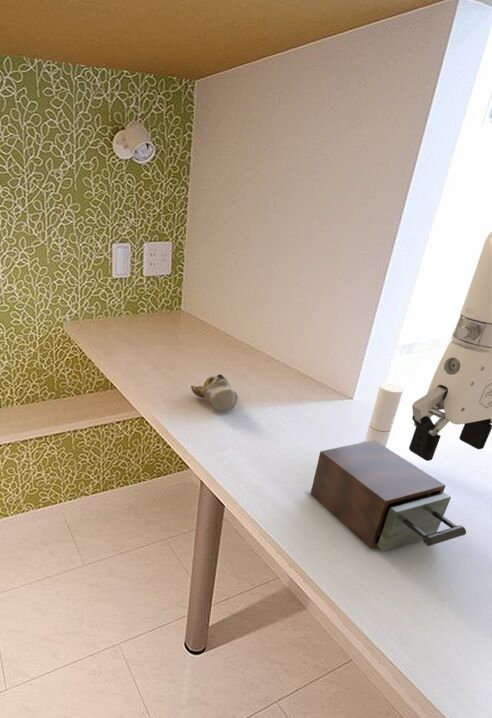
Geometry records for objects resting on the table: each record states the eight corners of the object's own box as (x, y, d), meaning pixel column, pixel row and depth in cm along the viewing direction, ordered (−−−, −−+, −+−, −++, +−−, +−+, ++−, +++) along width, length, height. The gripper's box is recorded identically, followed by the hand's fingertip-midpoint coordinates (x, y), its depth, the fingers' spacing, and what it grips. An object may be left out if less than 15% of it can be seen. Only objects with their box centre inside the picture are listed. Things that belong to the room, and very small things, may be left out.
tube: (382, 456, 95) (402, 394, 88) (361, 450, 97) (378, 388, 90) (385, 447, 98) (403, 386, 91) (364, 441, 100) (381, 382, 93)
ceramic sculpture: (210, 385, 105) (190, 366, 118) (208, 417, 108) (188, 395, 122) (251, 382, 107) (226, 364, 121) (247, 414, 111) (223, 392, 124)
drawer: (464, 556, 68) (482, 517, 64) (409, 575, 64) (425, 534, 61) (372, 486, 83) (382, 452, 80) (323, 498, 80) (332, 463, 76)
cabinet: (427, 531, 74) (445, 485, 70) (370, 548, 70) (385, 501, 66) (362, 481, 86) (374, 439, 82) (310, 493, 82) (320, 451, 78)
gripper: (470, 349, 48) (423, 475, 55) (570, 336, 53) (515, 454, 61) (412, 329, 54) (376, 445, 62) (507, 320, 60) (464, 428, 67)
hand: (445, 449), depth 61 cm, fingers open, 9 cm apart
